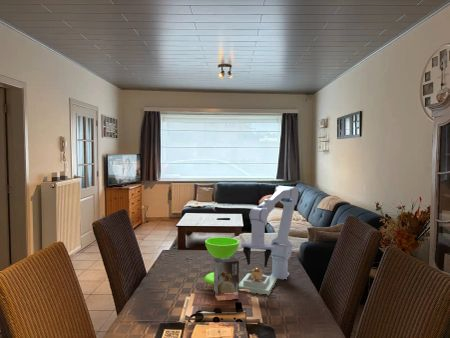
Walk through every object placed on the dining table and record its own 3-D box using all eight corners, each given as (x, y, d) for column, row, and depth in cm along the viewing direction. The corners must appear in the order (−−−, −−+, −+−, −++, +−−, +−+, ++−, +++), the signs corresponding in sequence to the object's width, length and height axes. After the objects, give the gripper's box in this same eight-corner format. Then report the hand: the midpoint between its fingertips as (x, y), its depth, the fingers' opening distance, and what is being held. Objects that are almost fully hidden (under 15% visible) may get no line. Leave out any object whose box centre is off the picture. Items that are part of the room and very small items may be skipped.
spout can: (252, 280, 163) (252, 266, 163) (263, 281, 162) (263, 267, 161) (249, 284, 158) (250, 269, 158) (261, 285, 157) (261, 270, 156)
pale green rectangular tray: (247, 277, 173) (248, 269, 173) (276, 281, 168) (277, 272, 168) (236, 290, 156) (237, 281, 156) (268, 295, 151) (269, 286, 151)
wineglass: (235, 286, 160) (236, 246, 160) (200, 283, 164) (201, 244, 163) (240, 274, 176) (241, 238, 175) (209, 272, 179) (209, 236, 178)
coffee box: (234, 293, 152) (235, 256, 152) (238, 299, 146) (239, 260, 145) (213, 295, 150) (214, 257, 149) (216, 302, 144) (217, 262, 143)
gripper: (239, 235, 158) (238, 265, 158) (272, 238, 153) (271, 269, 154) (244, 231, 164) (243, 261, 165) (275, 234, 160) (274, 265, 160)
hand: (257, 265), depth 160 cm, fingers open, 7 cm apart
